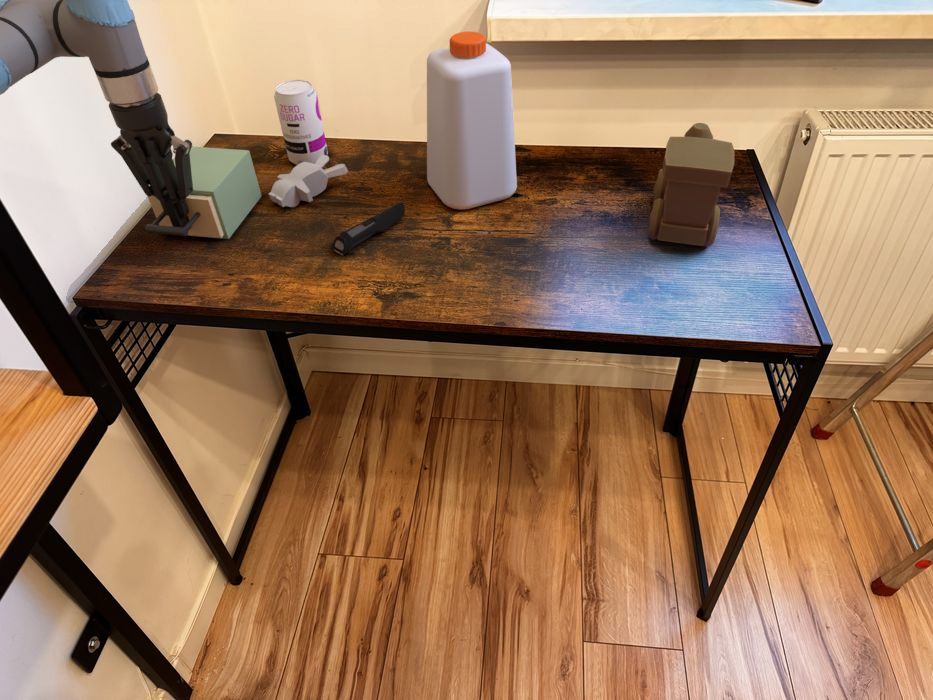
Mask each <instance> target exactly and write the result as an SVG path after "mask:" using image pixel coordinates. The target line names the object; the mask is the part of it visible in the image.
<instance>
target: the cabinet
mask: <svg viewBox="0 0 933 700" xmlns="http://www.w3.org/2000/svg"><path fill="white" fill-rule="evenodd" d="M189 154H190V164H191V173H192V183H193V191H192V192H191V194H199V195H210V196H211V197H212V200H213V203H214V206H215V209H216V212H217V215H218V218H219V221H220V224H221V227H222V230H223V233H224V235H223V237H222V238H221V239H223V240H230V238H231V237H232V236H233V235H234V233H235V232H236V231H237V229H238V228H239V226H240V225H242V223H243V221H244V220H245V219H246V218H247V216H248V215H249V213H250V212H251V211H252V210H253V208H254V207H256V205H257V203H258V202H259V200H260V199H261V198H262V196H263V195H262V192H261V188H260V183H259V181H258V178H257V174H256V170H255V166H254V162H253V160H252V159H253V158H252V156H251V152H250V150H247V149H234V148H222V147H221V148H220V147H207V146H206V147H205V146H193V145H192V147H191V150H190V153H189ZM172 159H173V162H174V164H175V157H173V158H172ZM175 167H176V166H175ZM149 187H150V185H149Z"/></svg>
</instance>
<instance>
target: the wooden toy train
mask: <svg viewBox="0 0 933 700" xmlns="http://www.w3.org/2000/svg"><path fill="white" fill-rule="evenodd" d="M734 148H735V147H734V146H733V143H732V142H730V141H725V140H720V139H714V135H713V133H712V132H711V129H710V126H709V125H708V124H706V123H704V122H696V123H694V124H692V126H691V127H690V128H689V129H688V130H687V131H686V132H685V133H684V135H683V136H669V138H668V140H667V142H666V146H665V152H664V156H663V162H662V168H660V169H659V170H658V174H657V178H656V181H655V183H654V185H653V202H652V205H653V206H652V209H651V211H650V214H649V216H648V233H647V235H648V238H649V239H650V240H651V241H652V240H653V241H654V240H657V241H663V242H669V243H676V244H684V245H692V246H699V247H706V248H708V247H712V245H713V244H714V243H715V241H716V236H717V234H718V230H719V227H720V225H719V223H720V216H721V208H720V207H719V205H717V204H718V200H719V197H720V192H721V188H726V189H728V187H729V184H730V182H731V181H730V180H731V178H732V177H731V176H732V173H733V170H734V167H735V149H734Z"/></svg>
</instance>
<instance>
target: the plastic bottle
mask: <svg viewBox="0 0 933 700" xmlns="http://www.w3.org/2000/svg"><path fill="white" fill-rule="evenodd" d="M512 78H513V77H512V65H511V62H510V60H509V58H507V57H506V56H505V55H504V54H503V53H501V52H500V51H499V50H497V48H495V47H493V46H492V45H490V44H488V43H487V38H486V37H485V35H484V34H482V33H481V32H478V31H460V32H457V33H455V34H453V35H451V36H450V38H449V46H447V47H442V48H437V49H435V50H433V51H431V52H430V53H429V54H428V55H427V58H426V181H427V184H428V185H429V186H430V188H431V189H432V190H433V191H434V193H435V194H436V195H437V197H438V198H439V199H440V200H441V202H442V203H443V204H444V205H445V206H447V207H448V208H451V209H453V210H470V209H473V208H478V207H480V206H485V205H489V204H493V203H497V202H500V201H504V200H506V199H509V198H510V197H512V196H513V195H514V194H515V193H516V191H517V187H518V179H517V178H518V177H517V160H516V139H515V119H514V101H513V79H512Z"/></svg>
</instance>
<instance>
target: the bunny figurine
mask: <svg viewBox="0 0 933 700" xmlns="http://www.w3.org/2000/svg"><path fill="white" fill-rule="evenodd" d="M329 162H330V157H329V156H328V154H327V155H322V156H320V157H319V159H318V160H317V162H316V163H315V164H313V163H308V162H302V163H300V164H298V165H295V166H294V167H293V168H292V169H291V171H290V172H289V173H280V174H279V175H278V176H276V178H277V180H276V181H275V182H274V183H273V184H272V186H271V187H272V188H271V190H270V192H269V193H268V196H269V199H270V201H271V202H273V203H275V204H277V205H278V206H280V207H282V208H284V207H289V208H295V207H297V206H298V205H300V202H301V201H304V202H308V203H311V202H314V198H313V197H316V196H318V195H320V194H321V193H323V192H324V191H325V190H326V189H327V185H328V181H329V179H330V178H334V177H338V176H343V175H347V174H348V172H349V170H348V168H347V166H346V164H345V163H339V164H335V165H334V166H331V167H329V168H326V169H324V167H325V166H326V165H327V164H328V163H329Z"/></svg>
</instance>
